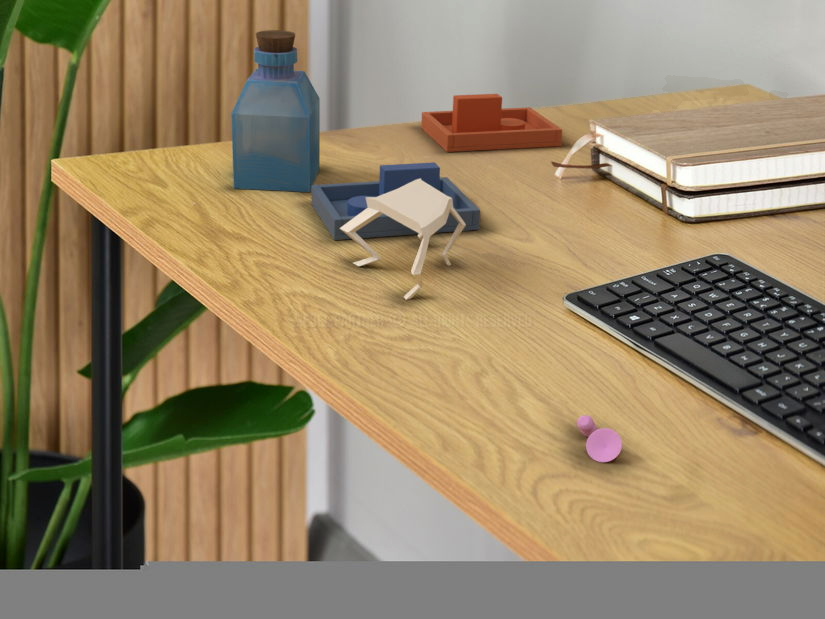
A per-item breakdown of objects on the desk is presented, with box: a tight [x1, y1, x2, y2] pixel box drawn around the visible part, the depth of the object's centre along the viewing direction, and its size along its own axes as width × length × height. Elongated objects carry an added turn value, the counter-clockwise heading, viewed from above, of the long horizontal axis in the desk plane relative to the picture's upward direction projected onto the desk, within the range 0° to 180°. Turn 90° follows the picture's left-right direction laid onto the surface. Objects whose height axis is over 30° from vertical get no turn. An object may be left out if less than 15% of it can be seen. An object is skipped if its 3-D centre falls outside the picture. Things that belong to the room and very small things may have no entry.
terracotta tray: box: [420, 106, 563, 153], centre depth 114 cm, size 11×8×2 cm
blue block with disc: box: [347, 161, 441, 216], centre depth 92 cm, size 7×3×4 cm, turn 106°
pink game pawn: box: [576, 414, 623, 463], centre depth 62 cm, size 3×2×2 cm
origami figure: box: [340, 178, 466, 301], centre depth 81 cm, size 12×8×5 cm
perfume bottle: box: [230, 29, 321, 193], centre depth 98 cm, size 6×6×12 cm
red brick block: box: [452, 93, 525, 133], centre depth 113 cm, size 7×3×4 cm, turn 106°
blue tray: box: [310, 176, 481, 241], centre depth 92 cm, size 11×8×2 cm
